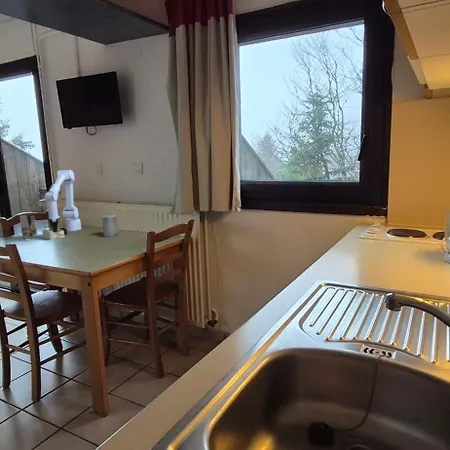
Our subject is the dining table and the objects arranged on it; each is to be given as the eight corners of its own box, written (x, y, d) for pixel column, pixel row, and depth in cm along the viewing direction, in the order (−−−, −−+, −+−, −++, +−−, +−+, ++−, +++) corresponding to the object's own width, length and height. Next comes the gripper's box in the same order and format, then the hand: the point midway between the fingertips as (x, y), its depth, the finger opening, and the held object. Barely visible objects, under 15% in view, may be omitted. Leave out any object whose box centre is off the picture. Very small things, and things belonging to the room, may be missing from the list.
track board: (71, 233, 287) (70, 224, 286) (80, 236, 278) (79, 226, 277) (41, 239, 273) (40, 229, 272) (50, 242, 263) (48, 232, 262)
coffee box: (31, 238, 277) (28, 215, 273) (22, 238, 277) (19, 215, 274) (37, 235, 286) (35, 212, 282) (28, 235, 286) (25, 213, 283)
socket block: (59, 235, 278) (58, 229, 277) (64, 236, 273) (63, 231, 272) (47, 237, 273) (46, 231, 272) (52, 239, 267) (51, 233, 266)
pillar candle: (114, 233, 284) (111, 211, 281) (121, 234, 277) (118, 213, 274) (101, 235, 278) (98, 214, 275) (107, 237, 270) (105, 215, 267)
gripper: (59, 211, 264) (62, 231, 267) (58, 208, 277) (61, 228, 280) (47, 212, 261) (50, 233, 264) (47, 209, 274) (50, 229, 277)
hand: (55, 230), depth 272 cm, fingers open, 7 cm apart
